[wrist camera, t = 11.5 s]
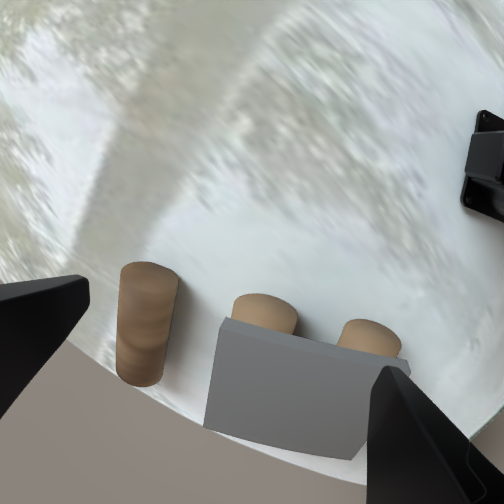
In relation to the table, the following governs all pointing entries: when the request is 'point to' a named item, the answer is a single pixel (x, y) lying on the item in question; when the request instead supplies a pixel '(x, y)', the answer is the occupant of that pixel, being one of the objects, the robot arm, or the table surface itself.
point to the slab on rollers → (295, 380)
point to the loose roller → (144, 321)
